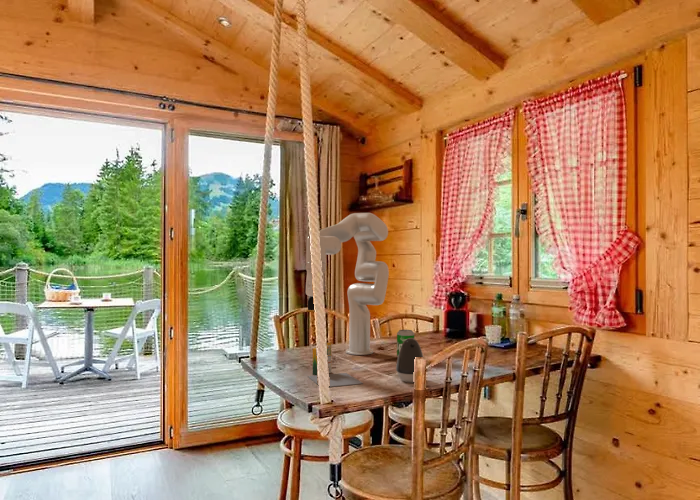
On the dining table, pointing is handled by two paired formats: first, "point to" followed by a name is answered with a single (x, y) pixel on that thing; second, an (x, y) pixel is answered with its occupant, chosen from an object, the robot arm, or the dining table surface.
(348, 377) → the mat
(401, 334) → the soda can
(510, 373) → the dining table surface
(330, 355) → the crayon box
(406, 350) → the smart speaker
